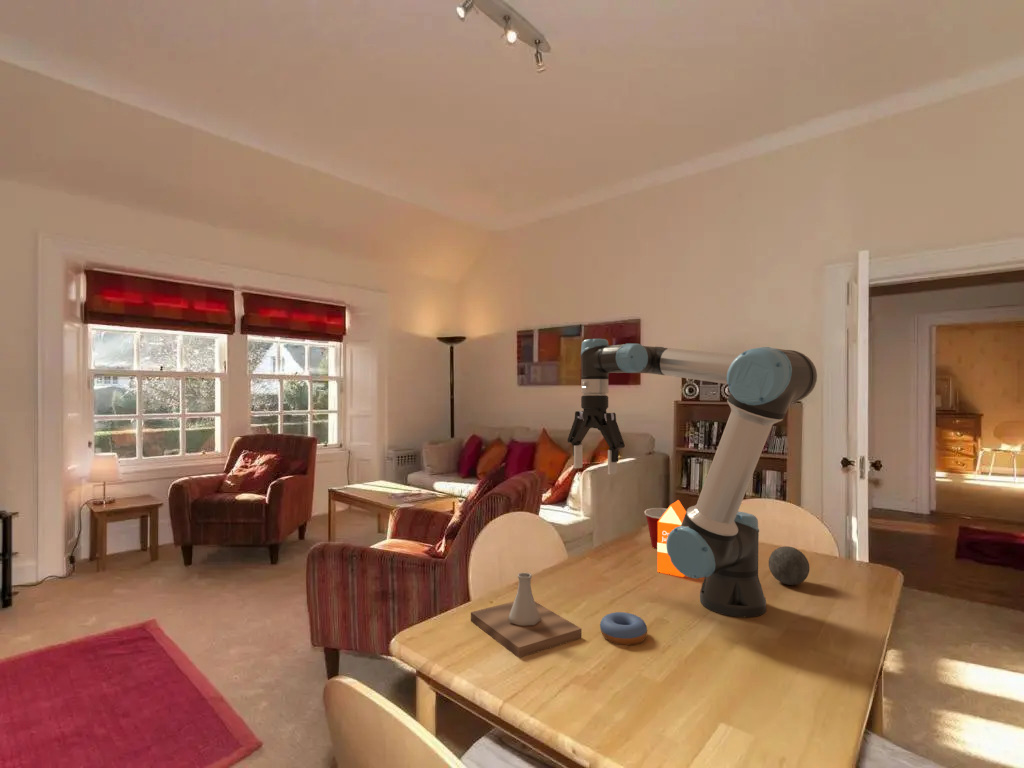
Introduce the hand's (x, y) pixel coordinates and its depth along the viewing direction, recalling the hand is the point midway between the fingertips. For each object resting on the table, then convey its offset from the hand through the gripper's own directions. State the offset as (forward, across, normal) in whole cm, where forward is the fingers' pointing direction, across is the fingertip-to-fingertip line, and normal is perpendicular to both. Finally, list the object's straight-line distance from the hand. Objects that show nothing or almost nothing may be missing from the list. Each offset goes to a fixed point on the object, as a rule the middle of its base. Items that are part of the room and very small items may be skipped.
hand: (594, 471), depth 153 cm
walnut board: (+30, +14, -35) cm, 48 cm away
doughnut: (+31, +29, -19) cm, 46 cm away
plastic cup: (+30, -10, +40) cm, 51 cm away
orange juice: (+30, +8, +25) cm, 40 cm away
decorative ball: (+30, +32, +42) cm, 61 cm away
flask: (+28, +14, -35) cm, 47 cm away
